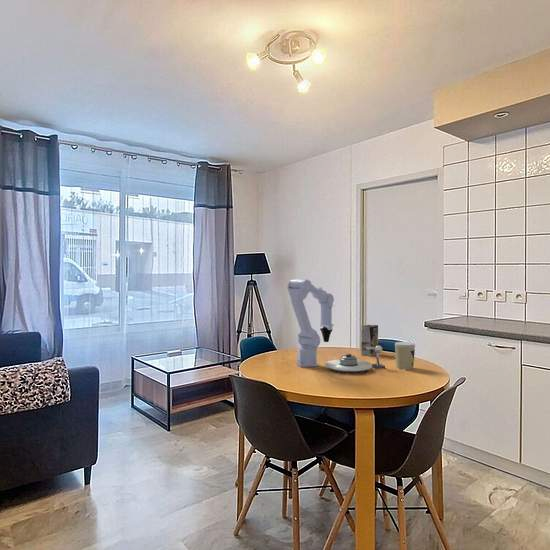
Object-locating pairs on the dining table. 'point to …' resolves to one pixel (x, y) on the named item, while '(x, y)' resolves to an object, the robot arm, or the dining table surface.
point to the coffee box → (369, 339)
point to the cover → (348, 360)
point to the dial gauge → (378, 350)
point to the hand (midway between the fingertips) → (326, 341)
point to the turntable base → (349, 371)
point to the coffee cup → (404, 355)
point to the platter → (359, 367)
